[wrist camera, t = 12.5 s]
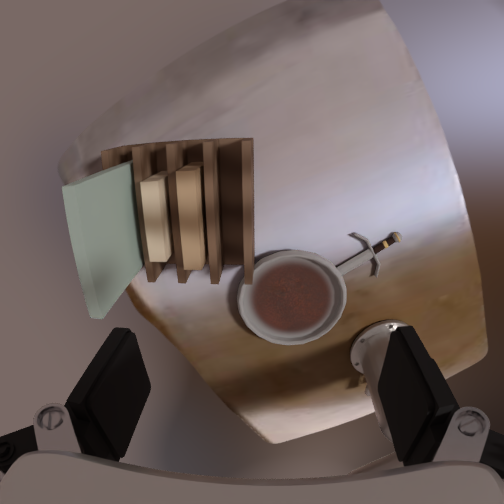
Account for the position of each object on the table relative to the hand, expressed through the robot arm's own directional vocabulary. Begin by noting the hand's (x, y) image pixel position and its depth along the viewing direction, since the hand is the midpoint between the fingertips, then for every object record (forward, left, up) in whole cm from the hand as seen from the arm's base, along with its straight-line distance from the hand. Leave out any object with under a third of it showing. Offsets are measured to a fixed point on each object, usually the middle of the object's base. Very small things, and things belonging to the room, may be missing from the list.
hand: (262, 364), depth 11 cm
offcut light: (-3, +13, -34) cm, 37 cm away
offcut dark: (-3, +9, -34) cm, 35 cm away
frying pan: (-15, -9, -36) cm, 40 cm away
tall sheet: (-3, +18, -34) cm, 38 cm away
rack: (-3, +11, -35) cm, 37 cm away
